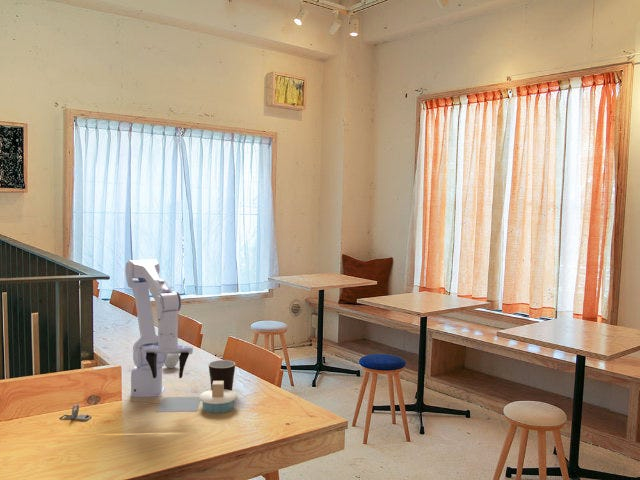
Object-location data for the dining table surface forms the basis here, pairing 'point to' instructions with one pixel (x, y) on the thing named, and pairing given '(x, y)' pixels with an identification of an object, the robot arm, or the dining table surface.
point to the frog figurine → (172, 360)
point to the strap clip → (76, 415)
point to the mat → (178, 404)
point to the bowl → (217, 407)
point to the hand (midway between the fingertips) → (167, 377)
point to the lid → (217, 394)
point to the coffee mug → (222, 372)
